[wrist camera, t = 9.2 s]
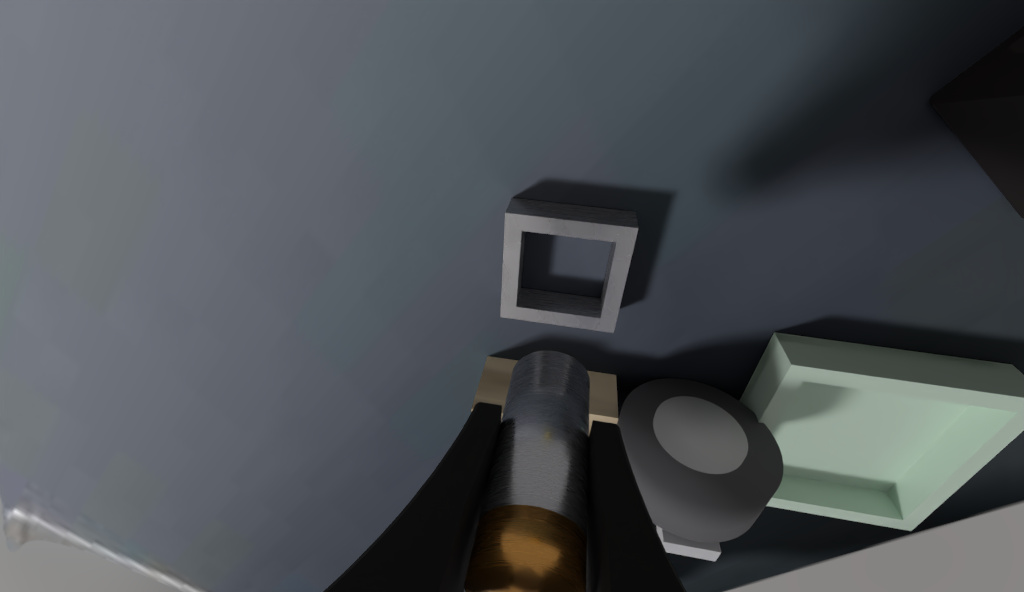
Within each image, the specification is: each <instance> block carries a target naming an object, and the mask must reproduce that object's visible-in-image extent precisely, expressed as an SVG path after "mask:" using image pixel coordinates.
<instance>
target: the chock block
mask: <svg viewBox="0 0 1024 592" xmlns="http://www.w3.org/2000/svg"><path fill="white" fill-rule="evenodd" d="M517 362H518V360H511V359H504V358H497V357H490V356H487V360H486V363H485V366H484V370H483V373H482V376H481V379H480V383H479V386H478V389H477V393H476V396H475V399H474V403H473V406H472V411H473V409H474V407H475V404H477V403H479V402H484V403H490V404H496V405H502V415H503V411H504V406H505V402H506V398H507V393H508V389H509V384H510V380H511V376H512V371H513V368H514V366H515V364H516V363H517ZM587 372H588V374H589V378H590V404H589V434H590V430H591V426H592V422H593V420H595V421H602V422H608V423H614V424H617V422H618V400H617V381H616V375H613V374H606V373H599V372H592V371H587ZM501 420H502V416H501Z"/></svg>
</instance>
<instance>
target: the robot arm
mask: <svg viewBox="0 0 1024 592" xmlns="http://www.w3.org/2000/svg"><path fill="white" fill-rule="evenodd" d="M501 416H502V405H496V404H490V403H484V402H479V403H477V404H475V407H474V409H473V411H472V413H471V415H470V416H469V418H468V420H467V422H466V423H465V425H464V427H463V429H462V430H461V432H460V433H459V435H458V437H457V438H456V440H455V441H454V443H453V444H452V446H451V447H450V449H449V450H448V452H447V453H446V455H445V456H444V457H443V459H442V460H441V462H440V463H439V465H438V466H437V467H436V469H435V470H434V472H433V473H432V474H431V476H430V477H429V478H428V479H427V481H426V482H425V483H424V485H423V486H422V487H421V488H420V490H419V491H418V492H417V494H416V495H415V496H414V497H413V499H412V500H411V501H410V502H409V503H408V505H407V506H406V507H405V508H404V509H403V511H402V512H401V513H400V514H399V515H398V516H397V518H396V519H395V520H394V521H393V522H392V523H391V524H390V525H389V527H388V528H387V529H386V530H385V531H384V532H383V533H382V534H381V535H380V536H379V538H378V539H377V540H376V541H375V542H374V543H373V544H372V545H371V546H370V547H369V548H368V549H367V550H366V551H365V552H364V553H363V554H362V555H361V556H360V557H359V558H358V559H357V560H356V561H355V562H354V563H353V564H352V565H351V566H350V567H349V568H348V569H347V570H346V571H345V572H344V573H343V574H342V575H341V576H340V577H339V578H338V579H337V580H336V581H334V582H333V583H332V584H331V585H330V586H329V587H328V588H327V589H326V590H325V591H324V592H464V582H465V578H466V573H467V569H468V565H469V560H470V556H471V551H472V547H473V543H474V538H475V534H476V529H477V525H478V521H479V516H480V512H481V508H482V503H483V499H484V494H485V490H486V486H487V481H488V477H489V472H490V468H491V464H492V460H493V456H494V452H495V448H496V443H497V439H498V434H499V430H500V426H501ZM586 592H686V590H685V588H684V586H683V584H682V583H681V581H680V579H679V577H678V575H677V573H676V571H675V569H674V567H673V565H672V563H671V561H670V559H669V557H668V555H667V553H666V551H665V548H664V546H663V544H662V542H661V540H660V537H659V535H658V533H657V531H656V529H655V526H654V524H653V522H652V519H651V517H650V515H649V512H648V510H647V507H646V505H645V502H644V500H643V497H642V495H641V492H640V490H639V487H638V485H637V482H636V479H635V476H634V474H633V471H632V468H631V465H630V462H629V459H628V456H627V453H626V449H625V446H624V442H623V438H622V435H621V430H620V427H619V426H618V425H617V424H614V423H608V422H602V421H595V420H593V422H592V426H591V430H590V434H589V446H588V511H587V565H586Z"/></svg>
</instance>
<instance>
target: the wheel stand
mask: <svg viewBox="0 0 1024 592" xmlns="http://www.w3.org/2000/svg"><path fill="white" fill-rule="evenodd" d="M617 425H618V426H619V427H620V430H621V435H622V438H623V442H624V446H625V449H626V453H627V456H628V459H629V462H630V465H631V468H632V471H633V474H634V476H635V479H636V482H637V485H638V487H639V490H640V492H641V495H642V497H643V500H644V502H645V505H646V507H647V510H648V512H649V515H650V517H651V519H652V522H653V523H654V524H655V525H656V527H657V533H658V535H659V537H660V540H661V542H662V544H663V546H664V548H665V551H666V552H668V553H673V554H678V555H683V556H689V557H694V558H699V559H705V560H710V561H716V560H717V558H718V557H719V555H720V554H721V549H720V544H719V542H724V541H729V540H731V539H734V538H737V537H739V536H740V535H742V534H744V533H745V532H746V531H747V530H748V529H750V527H751V526H752V525H753V524H754V522H755V521H756V519H757V518H758V517H759V515H760V514H761V512H762V511H763V509H764V508H765V507H766V505H767V504H768V502H769V501H770V499H771V498H772V497H773V495H774V494H775V492H776V491H777V489H778V488H779V486H780V484H781V481H782V477H783V459H782V454H781V451H780V448H779V446H778V444H777V442H776V440H775V438H774V436H773V435H772V433H771V431H770V430H769V429H768V427H767V426H766V425H765V424H764V423H760V422H758V419H757V417H756V414H755V413H754V412H753V411H752V410H750V409H749V408H748V407H747V406H745V405H744V404H743V403H741V402H740V401H739V400H737V399H735V398H734V397H732V396H731V395H729V394H727V393H725V392H723V391H721V390H719V389H717V388H714V387H712V386H709V385H706V384H704V383H700V382H696V381H692V380H687V379H678V378H665V379H657V380H652V381H649V382H646V383H644V384H642V385H640V386H638V387H637V388H635V389H634V390H633V391H632V392H631V393H630V394H629V395H628V396H627V398H626V399H625V401H624V403H623V406H622V408H621V412H620V415H619V419H618V422H617Z"/></svg>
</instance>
